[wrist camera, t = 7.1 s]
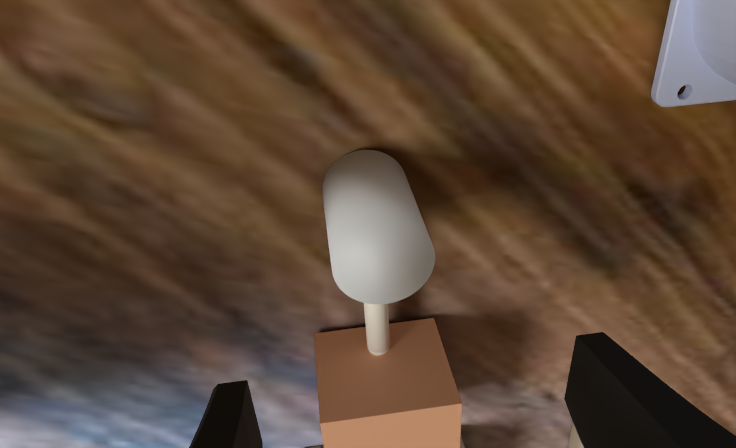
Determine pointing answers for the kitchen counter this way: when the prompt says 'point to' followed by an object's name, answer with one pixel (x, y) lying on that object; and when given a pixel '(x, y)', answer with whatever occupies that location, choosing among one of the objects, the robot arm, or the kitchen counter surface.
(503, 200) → the kitchen counter surface
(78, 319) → the kitchen counter surface
